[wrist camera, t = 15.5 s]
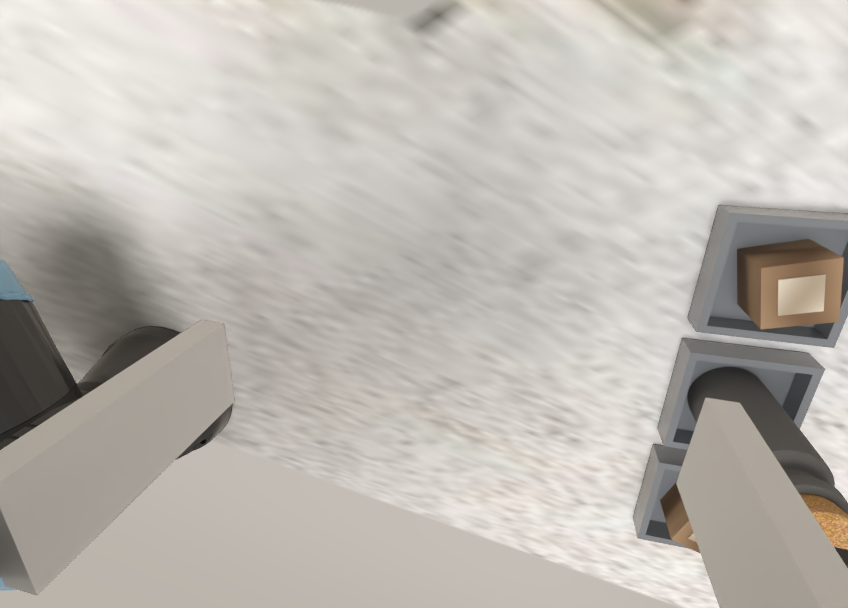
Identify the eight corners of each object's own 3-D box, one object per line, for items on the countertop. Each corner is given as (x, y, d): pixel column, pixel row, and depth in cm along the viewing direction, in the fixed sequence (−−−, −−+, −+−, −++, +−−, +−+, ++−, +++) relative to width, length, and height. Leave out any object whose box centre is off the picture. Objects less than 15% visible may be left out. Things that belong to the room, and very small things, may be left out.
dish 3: (657, 428, 43) (663, 446, 41) (682, 337, 39) (690, 352, 37) (771, 445, 41) (784, 465, 39) (808, 352, 38) (824, 368, 35)
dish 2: (687, 318, 39) (696, 331, 36) (718, 205, 35) (730, 212, 33) (816, 332, 37) (833, 347, 35) (863, 214, 33) (886, 223, 31)
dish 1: (633, 517, 48) (637, 538, 45) (653, 444, 44) (658, 462, 42) (734, 536, 46) (744, 559, 43) (764, 462, 42) (776, 482, 40)
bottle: (767, 421, 40) (881, 583, 26) (690, 428, 42) (759, 583, 28) (763, 361, 38) (882, 501, 25) (682, 371, 40) (753, 507, 27)
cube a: (737, 304, 37) (761, 329, 33) (736, 248, 35) (761, 268, 31) (806, 296, 36) (840, 322, 31) (808, 238, 34) (844, 258, 30)
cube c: (659, 500, 45) (671, 540, 41) (688, 468, 43) (703, 507, 39) (704, 521, 45) (719, 563, 41) (734, 490, 43) (754, 531, 39)
